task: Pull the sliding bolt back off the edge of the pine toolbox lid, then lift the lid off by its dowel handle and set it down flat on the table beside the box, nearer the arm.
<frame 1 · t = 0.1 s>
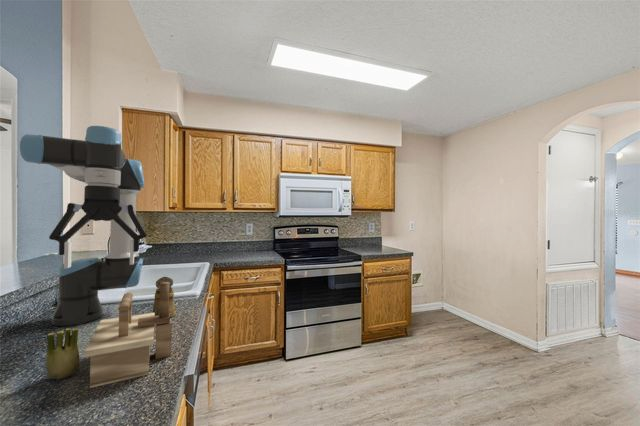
hand: (101, 265, 74), 28 cm above the counter, tool pointing down, fingers open, 13 cm apart
fennel bulb: (63, 377, 71), on the counter
toolbox: (124, 362, 78), on the counter
key: (165, 308, 124), on the counter
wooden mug: (163, 318, 112), on the counter
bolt: (154, 303, 82), point 16 cm above the counter, slide at 0.0 cm
lid: (125, 333, 78), point 8 cm above the counter, touching toolbox
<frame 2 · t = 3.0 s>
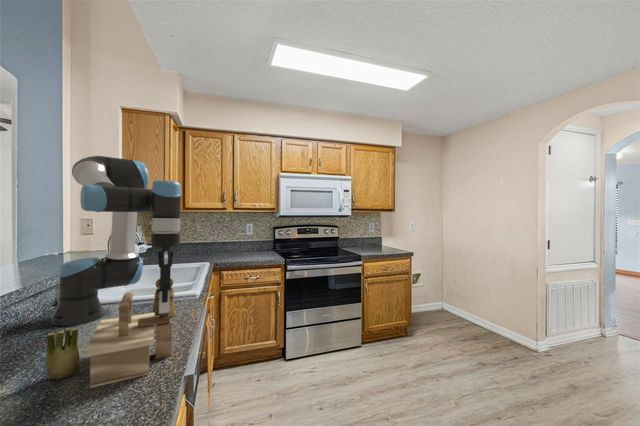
hand: (164, 310, 83), 13 cm above the counter, tool pointing down, fingers closed on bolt, 2 cm apart
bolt: (154, 303, 82), point 16 cm above the counter, slide at 0.0 cm, touching gripper
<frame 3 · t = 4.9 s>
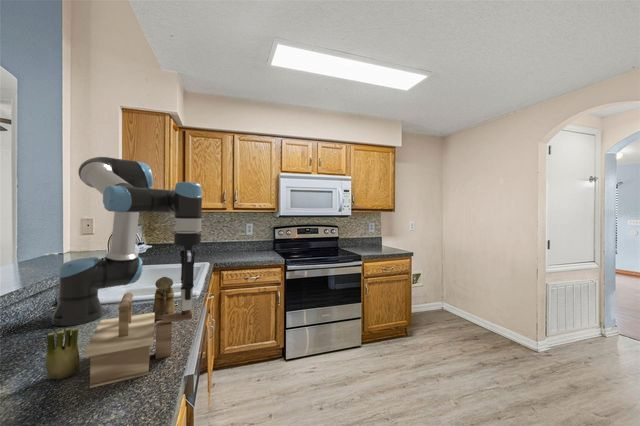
hand: (186, 307, 86), 13 cm above the counter, tool pointing down, fingers open, 5 cm apart
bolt: (177, 300, 85), point 16 cm above the counter, slide at 5.9 cm
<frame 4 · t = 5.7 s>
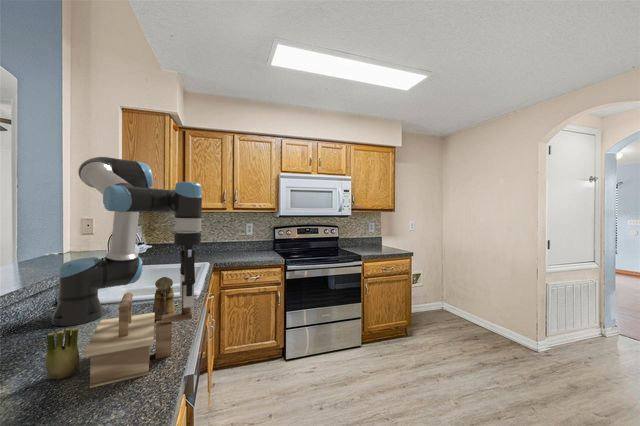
hand: (186, 300, 86), 15 cm above the counter, tool pointing down, fingers open, 13 cm apart
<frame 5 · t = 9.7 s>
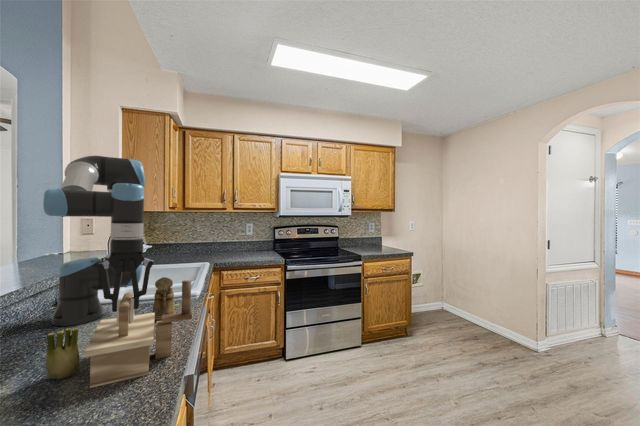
hand: (125, 321, 78), 12 cm above the counter, tool pointing down, fingers closed on lid, 2 cm apart
lid: (125, 333, 78), point 8 cm above the counter, touching gripper, toolbox
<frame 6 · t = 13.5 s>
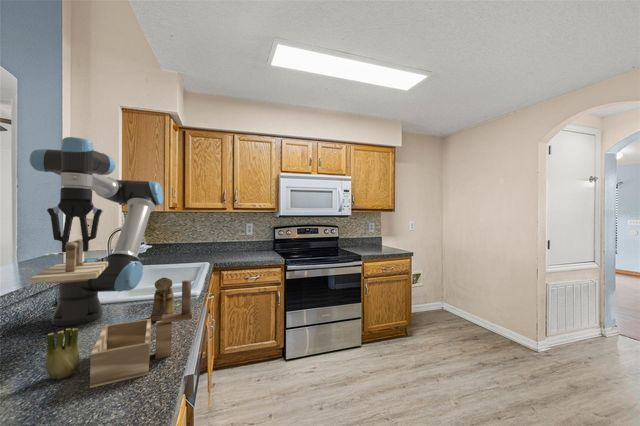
hand: (75, 262, 87), 26 cm above the counter, tool pointing down, fingers closed on lid, 2 cm apart
lid: (74, 273, 87), point 23 cm above the counter, touching gripper
when the fingers open (6 cm above the counter, at t = 17.5 s): lid drops 2 cm, point 1 cm above the counter.
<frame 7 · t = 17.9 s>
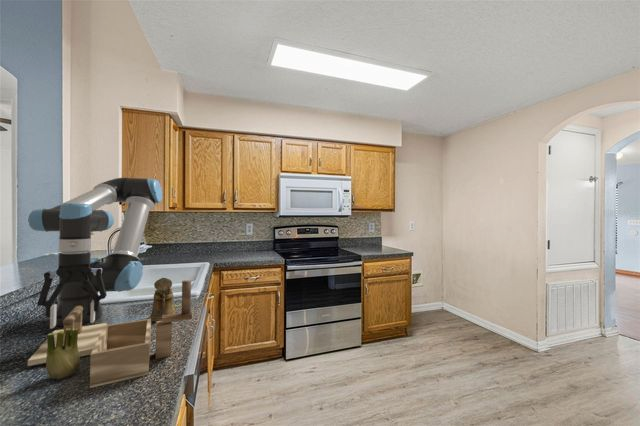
hand: (73, 324, 87), 7 cm above the counter, tool pointing down, fingers open, 9 cm apart
lid: (72, 343, 87), point 1 cm above the counter
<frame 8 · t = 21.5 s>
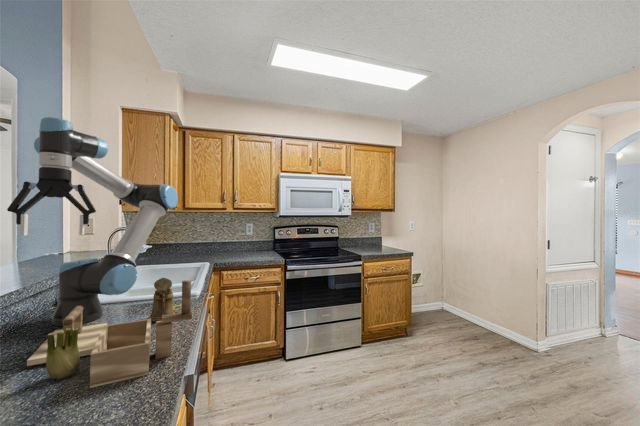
hand: (54, 235, 88), 35 cm above the counter, tool pointing down, fingers open, 13 cm apart
at the end: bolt slide at 5.9 cm; lid inside the target area (0.0 cm from its centre), point 0.8 cm above the counter; lid tilted 0° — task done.
